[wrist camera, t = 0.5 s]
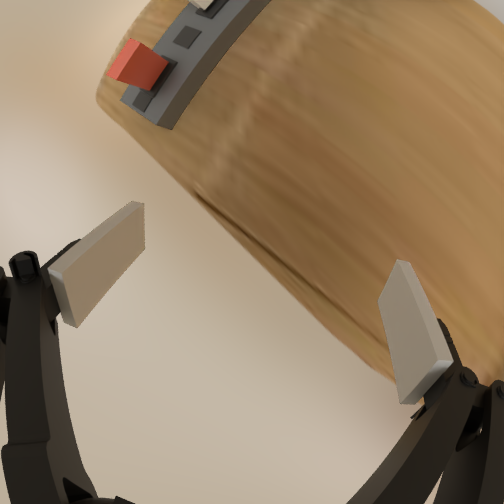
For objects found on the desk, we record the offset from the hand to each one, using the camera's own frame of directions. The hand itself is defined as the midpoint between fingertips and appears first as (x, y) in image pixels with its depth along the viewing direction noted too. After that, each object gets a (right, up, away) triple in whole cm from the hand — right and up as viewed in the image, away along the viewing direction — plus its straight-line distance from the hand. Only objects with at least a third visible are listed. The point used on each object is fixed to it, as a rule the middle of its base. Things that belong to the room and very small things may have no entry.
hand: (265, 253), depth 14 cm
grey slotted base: (-8, +30, +21) cm, 38 cm away
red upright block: (-14, +24, +19) cm, 34 cm away
